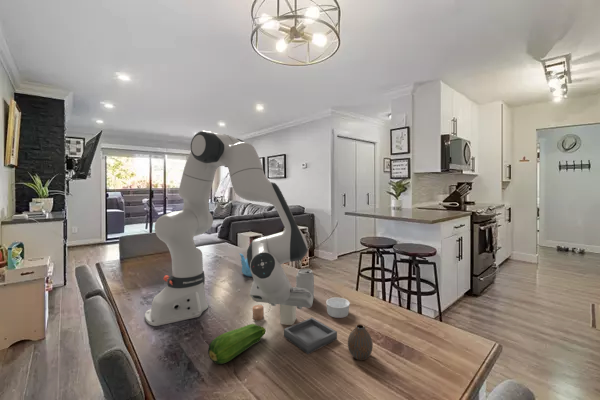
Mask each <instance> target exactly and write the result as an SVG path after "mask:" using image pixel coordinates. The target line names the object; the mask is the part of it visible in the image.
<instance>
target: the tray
mask: <svg viewBox="0 0 600 400" xmlns="http://www.w3.org/2000/svg"><path fill="white" fill-rule="evenodd" d="M283 337H284V338H285V339H286V340H288V341H289V342H291V343H292V344H293V345H294V346H295V347H297V348H299V350H301V351H303V352H304V353H306V354H307V355H309V354H311V353H314V352H315V351H317V350H319V349H321V348H322V347H325V346H326V345H329V344H331V343H333V342H334V341H336V340H338V331H336V330H334V328H331V327H330V326H328V325H327V324H324V323H323V322H321V321H319V320H317V319H315V318H314V317H310V318H307V319H305V320H301V321H300V322H297V323H294V324H293V325H289V326H287V327H286V328H283Z"/></svg>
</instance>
